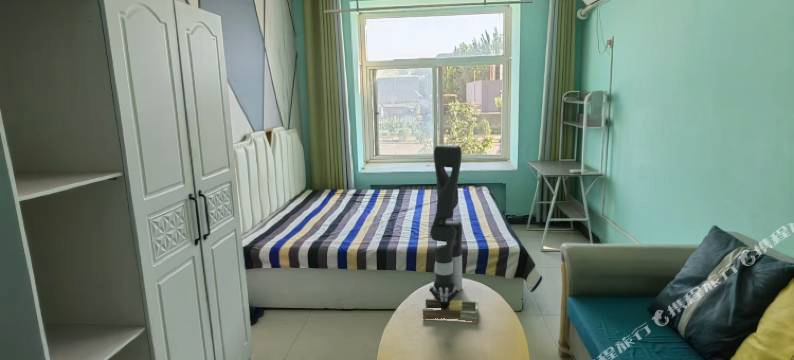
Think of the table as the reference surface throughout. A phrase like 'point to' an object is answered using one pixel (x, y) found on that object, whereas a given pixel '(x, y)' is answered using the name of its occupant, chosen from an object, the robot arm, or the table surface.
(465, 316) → the channel
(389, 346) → the table surface
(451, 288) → the robot arm
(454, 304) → the ochre block
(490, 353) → the table surface
